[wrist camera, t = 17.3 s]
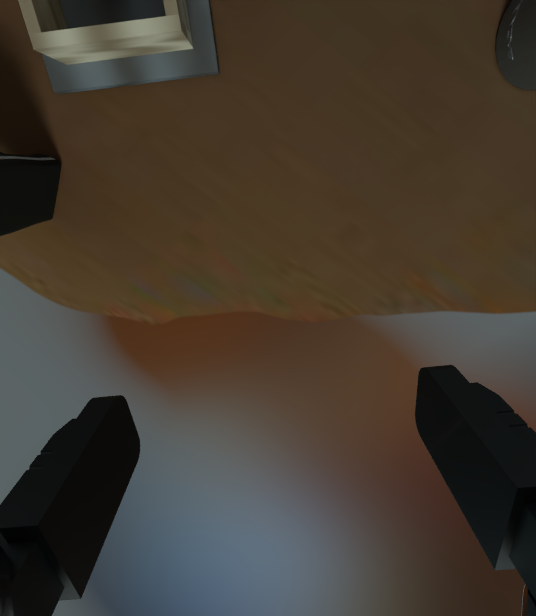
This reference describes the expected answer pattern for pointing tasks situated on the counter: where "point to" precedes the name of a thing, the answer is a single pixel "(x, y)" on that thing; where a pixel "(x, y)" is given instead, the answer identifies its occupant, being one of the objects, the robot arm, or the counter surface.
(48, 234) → the counter surface
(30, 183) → the battery charger
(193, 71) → the cream grey square tray
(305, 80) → the counter surface
